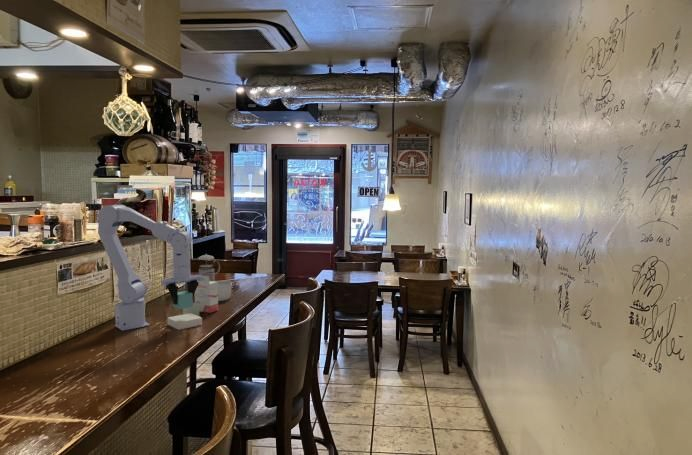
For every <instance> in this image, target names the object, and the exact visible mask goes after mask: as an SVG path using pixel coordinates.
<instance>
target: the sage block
mask: <svg viewBox="0 0 692 455" xmlns="http://www.w3.org/2000/svg"><path fill="white" fill-rule="evenodd" d="M189 313H192V314H195V315H197V316H199V317H200V311H199V304H196V303H195V302H193V307H189V308H184V309H182V315H184V314H189Z"/></svg>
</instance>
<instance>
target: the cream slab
mask: <svg viewBox="0 0 692 455" xmlns="http://www.w3.org/2000/svg"><path fill="white" fill-rule="evenodd" d="M167 325H168V326H170V327H171V328H174V329H175V330H177V329H178V331H179V330H183V329H184V328H185V329H189V328H193V327H198V325H199V326H202V325H203V317H201V316H200V315H199V316H197V315H195V314H192V313H189V314H184V315H183V314H179V315H174V316H168V317H167Z"/></svg>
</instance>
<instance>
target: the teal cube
mask: <svg viewBox="0 0 692 455" xmlns="http://www.w3.org/2000/svg"><path fill="white" fill-rule="evenodd" d="M177 298H178V303H177V305H175V304H173V307H174V308H175V309H178V310H183V309H184V308H189V307H193V303H194V302H193V301H194V297H193V294H192V293H191V292H188V290H184V291H178V293H177Z"/></svg>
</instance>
